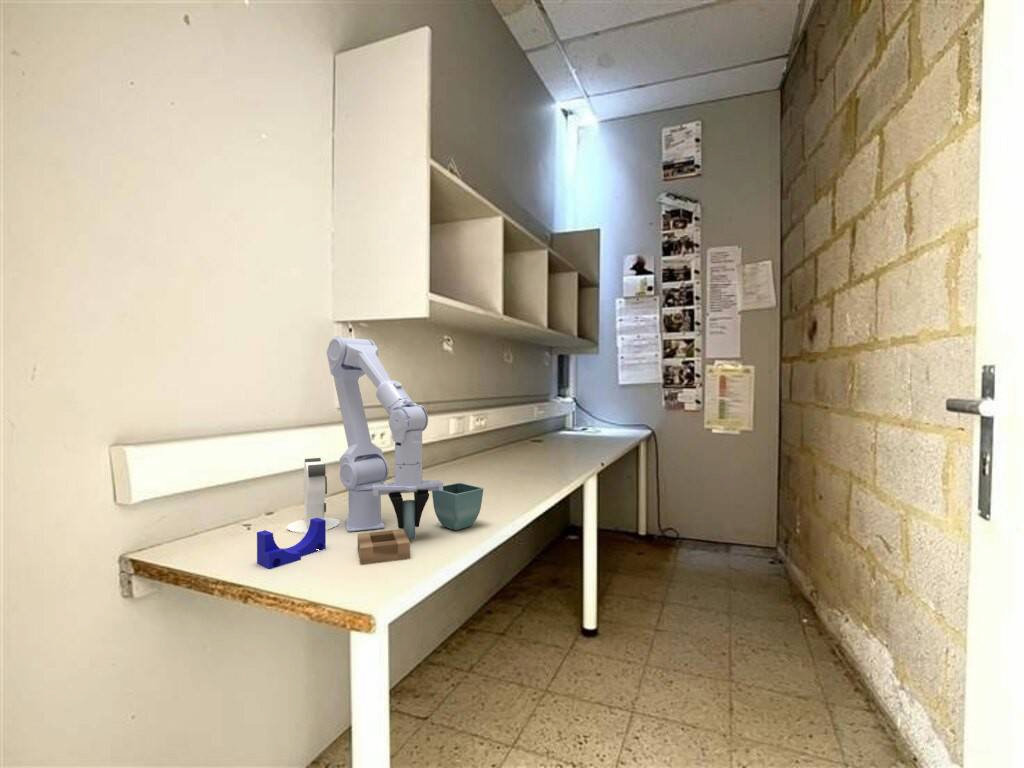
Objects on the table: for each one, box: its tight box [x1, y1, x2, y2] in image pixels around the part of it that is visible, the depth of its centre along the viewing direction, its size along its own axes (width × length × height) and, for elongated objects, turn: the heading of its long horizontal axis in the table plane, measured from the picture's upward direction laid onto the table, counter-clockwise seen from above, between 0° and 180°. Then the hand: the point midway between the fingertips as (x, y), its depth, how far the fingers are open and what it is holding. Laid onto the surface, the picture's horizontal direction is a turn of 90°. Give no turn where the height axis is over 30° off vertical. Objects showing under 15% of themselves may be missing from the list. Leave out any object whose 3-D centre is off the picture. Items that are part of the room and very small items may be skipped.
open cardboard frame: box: [357, 528, 411, 565], centre depth 95 cm, size 9×9×3 cm
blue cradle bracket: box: [256, 518, 327, 570], centre depth 93 cm, size 12×4×6 cm, turn 143°
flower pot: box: [431, 482, 485, 531], centre depth 113 cm, size 9×9×9 cm
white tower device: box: [286, 457, 341, 534], centre depth 113 cm, size 12×11×15 cm
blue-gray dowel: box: [402, 499, 416, 542], centre depth 104 cm, size 3×3×8 cm
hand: (408, 526), depth 104 cm, fingers closed on blue-gray dowel, 3 cm apart
